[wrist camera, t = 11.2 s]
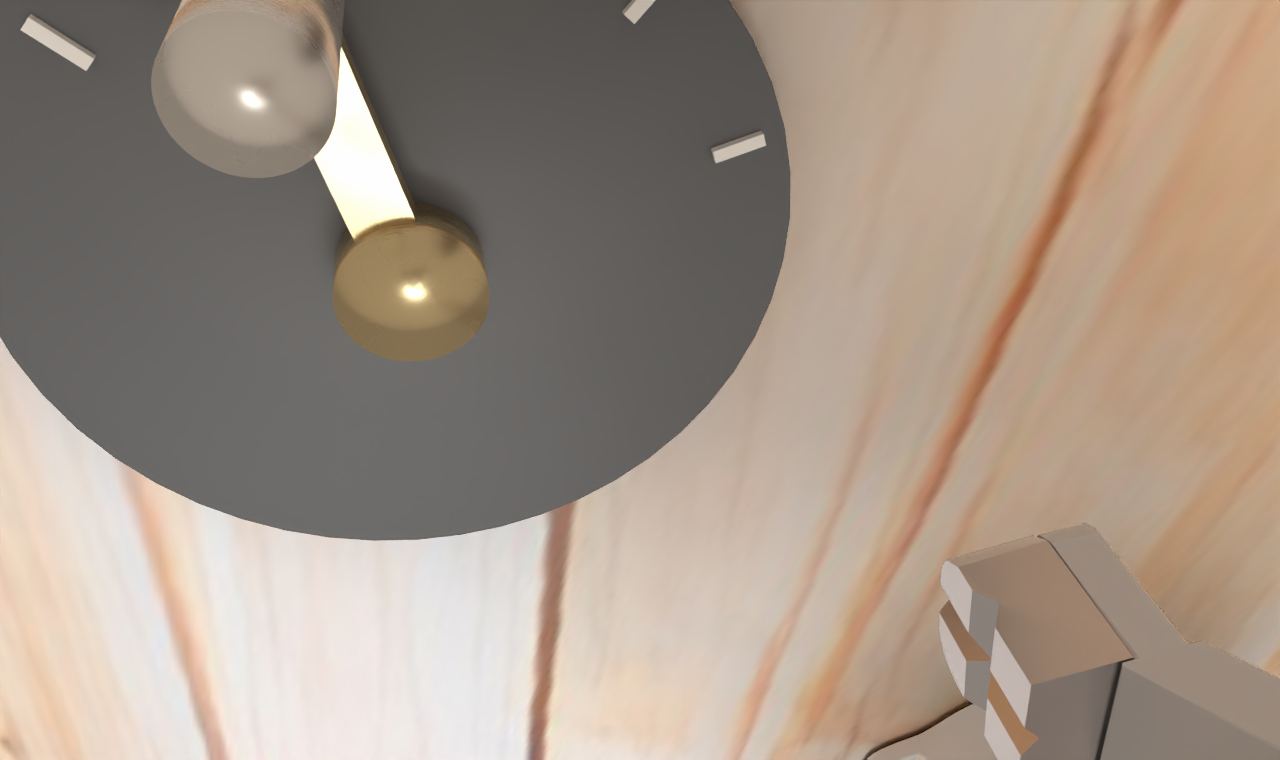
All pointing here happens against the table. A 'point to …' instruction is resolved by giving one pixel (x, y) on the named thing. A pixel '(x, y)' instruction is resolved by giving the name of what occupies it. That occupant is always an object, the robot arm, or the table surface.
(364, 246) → the brass lever
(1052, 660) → the robot arm
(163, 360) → the dial plate
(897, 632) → the table surface
